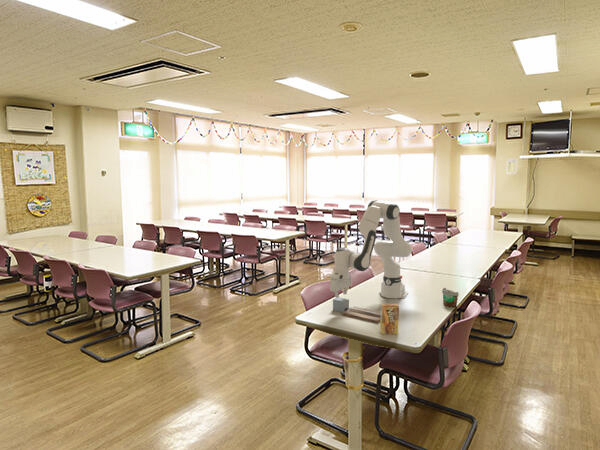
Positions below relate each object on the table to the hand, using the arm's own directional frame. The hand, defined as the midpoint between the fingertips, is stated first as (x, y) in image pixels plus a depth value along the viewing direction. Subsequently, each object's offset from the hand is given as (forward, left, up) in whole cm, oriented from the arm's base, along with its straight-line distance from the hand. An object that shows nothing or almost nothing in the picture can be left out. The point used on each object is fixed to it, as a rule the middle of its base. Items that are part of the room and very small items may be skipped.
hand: (341, 295), depth 243 cm
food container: (-51, +50, -10) cm, 72 cm away
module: (-1, 0, -9) cm, 9 cm away
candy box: (+15, +40, -10) cm, 44 cm away
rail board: (-1, +17, -9) cm, 19 cm away
